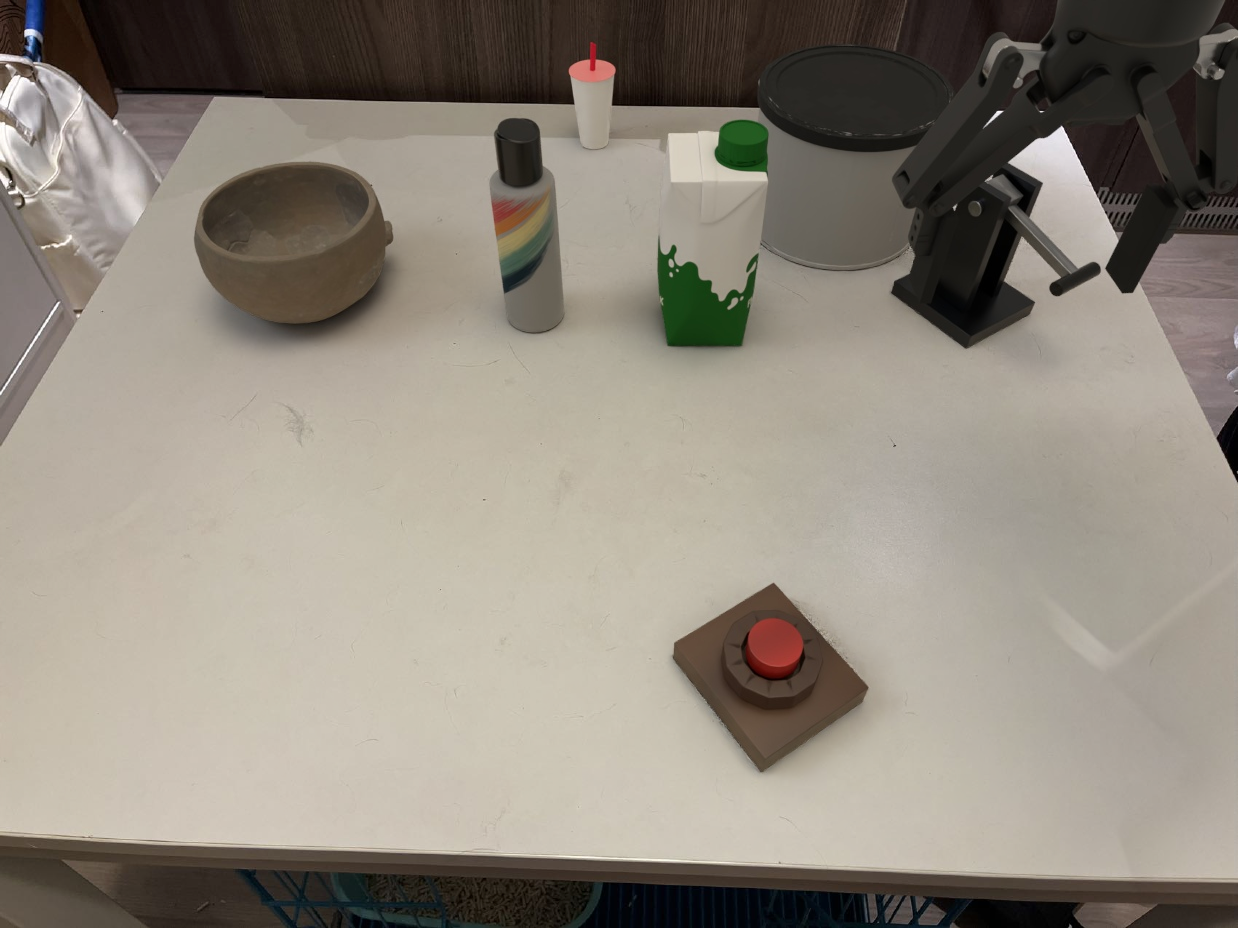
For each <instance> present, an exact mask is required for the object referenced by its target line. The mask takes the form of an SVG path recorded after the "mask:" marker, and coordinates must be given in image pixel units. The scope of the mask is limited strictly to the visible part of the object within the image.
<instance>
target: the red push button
mask: <svg viewBox="0 0 1238 928" xmlns="http://www.w3.org/2000/svg"><path fill="white" fill-rule="evenodd" d="M802 650H803V640H802V637H801V635H800V633H799V632H798V630H797V629H796V628H795V627H794V626H793V625H792V624H790V623H788V622H786V621H784V620H781V619H776V618H770V619H764V620H762V621H760V622H758V623H757V624H755V625H754V626H753V627H752V629H751V630H750V633H749V636H748V641H747V646H746V659H747V661H748V663H749V665H750V666H751V668H752V669H753V670H754V671H755V672H756V673H758V674H759V675H761V676H763V677H766V678H770V679H780V678H784V677H787V676H789V675H790V674H792V673H793V672H794V671H795V669H796V668H797V666H798V663H799V660H800V657H801V654H802Z"/></svg>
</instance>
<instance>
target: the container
mask: <svg viewBox="0 0 1238 928" xmlns="http://www.w3.org/2000/svg"><path fill="white" fill-rule="evenodd" d="M955 92H956V91H955V89H954V87H953V85H952V84H951V82H950V81H949V80H948V78H947V77H946V76H945V75H944V74H942V73H941V71H939V70H938V69H936V68H935V67H933V66H932V65H930V64H928V63H927V62H925V61H923V60H921V59H918V58H917V57H914V56H911V55H909V54H906V53H903V52H899V51H897V50H893V49H889V48H884V47H881V46H880V47H879V46H872V45H867V44H854V43H853V44H851V43H834V44H833V43H831V44H830V43H829V44H820V45H819V44H818V45H813V46H807V47H803V48H799V49H795V50H793V51H789V52H787V53H785V54H783V55H780V56H779V57H776V58H775V59H774V60H773V61H771V62H770V63H769V64H767V66H765V68H764V69H763V70H762V71H761V74H760V76H759V80H758V86H757V96H756V98H757V105H758V107H759V108H758V109H759V110H758V117H757V122H758V123H760V124H762V125H764V126H765V127H766V128H767V130H768V132H769V137H768V145H767V154H768V165H767V170H768V177H767V178H768V187H767V195H766V203H765V211H764V219H763V227H762V234H761V242H760V245H762V246H764V248H766V249H768V251H770V252H772V253H773V254H775V255H778V256H779V257H781V258H783V259H785V260H788V261H791V262H793V263H796V264H799V265H802V266H806V267H810V268H815V269H822V270H828V271H829V270H831V271H855V270H864V269H868V268H873V267H877V266H881V265H883V264H886V263H888V262H890V261H893V260H895V259H896V258H897V257H899V256H901V255H902V254H903V253H904V252H905V251H906V250H907V249H908V248H909V247H911V246H910V244H909V240H908V234H909V231H910V227H911V224H912V220H913V216H914V213H915V209H916V207H915V208H913V209H907V208H905V207H904V206H903V204H902V202H901V200H900V198H899V196H898V194H897V192H896V189H895V187H894V185H893V183H892V177H893V175H894V174H895V172H896V171H897V170H898V168H899V167H900V166H901V165H902V163H903V162H904V161H905V160H906V158H907V157H908V156H909V154H910V153H911V152H912V151H913V149H914V148H915V147H916V145H917V144H918V143H919V142H920V140H921V139H922V138H923V137H924V135H925V134H926V133H927V131H928V130H929V129H930V128H931V126H932V125H933V124H934V122H935V121H936V120H937V119H938V117H939V116H940V115H941V114H942V112H943V111H944V110H945V108H946V107H947V106H948V105H949V103H950V102H951V101H952V99H953V98H954V97H955V96H956V93H955Z"/></svg>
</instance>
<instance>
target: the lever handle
mask: <svg viewBox="0 0 1238 928" xmlns="http://www.w3.org/2000/svg"><path fill="white" fill-rule="evenodd" d="M985 182H987V183H988V184H990V185H992V186H993V187H995V188H997V189H998V190H1000V191H1002V192H1003V193H1005V194H1007V195H1008V196H1010V197H1011V198H1012V199H1011V202H1010V204H1009V207H1008V209H1007V212H1006V215H1005V217H1004V218H1005V219H1006V220H1007V221H1008V222H1009V223H1010V224H1011V225H1012V226H1013V227H1014V228H1015V230H1016V231H1017V232H1018V233H1019V234H1020V235H1021V236H1022V237H1021V238H1023V239H1024V241H1026V243H1028V245H1030V247H1031V248H1032V249H1033V250H1034V251H1035V252H1036V253H1037V254H1038V256H1040V257H1041V258H1042V259H1043V260H1044V261H1045V262H1046V264H1047V265H1049V267H1050V268H1051V269H1052V270H1053V271H1054V272H1055V273H1056V274H1057V275H1058V276H1059V277H1060V278H1058V279H1056V280H1054V281H1052V282H1051V283H1050V284H1049V287H1048V289H1049V292H1050V294H1051V295H1052V296H1054V297H1062V296H1063V295H1064V294H1066V293H1068V292H1070V291H1072V290H1074V289H1075V288H1077V287H1079V286H1081V285H1083V284H1086V283H1087V282H1089V281H1090V280H1093V279H1094V278H1096V277H1098V276H1099V275H1101V273H1102V268H1101V265H1100V264H1099V263H1098V262H1096V261H1090V262H1088V263H1086V264H1084V265H1082V266H1080V267H1077V266H1076V265H1075V264H1074V263H1073V261H1072V260H1071V259H1070V258H1069V257H1067V255H1066V254H1065V253H1064V252H1063V251H1062V250H1061V249H1060V248H1059V247H1058V246H1057V245H1056V244H1055V243H1054V242H1053V241H1052V240H1051V239H1050V238H1049V237H1048V236H1047V235H1046V234H1045V232H1043V230H1041V228H1040V227H1039V226H1038V225H1037V224H1036V223H1035V222H1034V221H1033V220H1032V219H1031V217H1028V216H1027V215H1026V214H1025V213H1024V212H1023V211H1022V210H1021V209H1020V208H1019V207H1018V206H1017V204H1018V202H1019V201H1020V200H1021V198H1022V197H1023V194H1022V193H1021V192H1020V191H1019V190H1018V189H1017V188H1016V187H1015V186H1014V185H1013V184H1012V183H1011V182H1010V181H1009V180H1008V179H1007V178H1006V177H1005V176H1004V175H1003V174H1002V175H999V176H997V177H995V178H993V179H992V178H990V179H987V180H986V181H985Z"/></svg>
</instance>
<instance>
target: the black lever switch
mask: <svg viewBox="0 0 1238 928" xmlns="http://www.w3.org/2000/svg"><path fill="white" fill-rule="evenodd" d="M1002 174H1003V175H1004V176H1005V177H1006V178H1007V179H1008V180H1009V181H1010V182H1011V183H1012V184H1013V185H1014V186H1015V187H1016V188H1017V189H1018V190H1019V191H1020V192H1021V193H1022V194H1023V197H1022V198H1021V200H1020V201H1019V202H1018V204H1017V206H1018V207H1019V208H1020V209H1021V210H1022V211H1023V212H1024V213H1025V214H1026V215H1027V216H1028V217H1029V218H1031V215H1032V212H1033V210H1034V207H1035V205H1036V202H1037V199H1038V197H1039V195H1040V192H1041V190H1042V187H1043V184H1044V182H1042V181H1041V180H1039V179H1037V178H1035V177H1034V176H1032V175H1031V174H1029V173H1027V172H1025V171H1023V170H1022V169H1020V168H1019V167H1017V166H1015V165H1013V164H1011V163H1010V162H1008V163H1007V164H1005V165H1004V166H1003V167H1002V168H1000V169H999V170H998V171H997V172H996V173H994V174H993V175H992V176H991V179H993V178H995V177H997V176H999V175H1002ZM1011 199H1012V198H1011V197H1010V196H1008V195H1007V194H1005V193H1003V192H1002V191H1000V190H998V189H997V188H995V187H993V186H992V185H990V184H988V183H987V182H986V181H985V182H983V183H982V184H981V185H980V186H978V187H977V188H976V189H975V190H974V191H972V192H971V193H970V194H969V195H967V196H966V197H965V198H964V199H963V200H961V201H960V202H959V203H958V204H956V205H955V209H954V210H955V212H956V214H957V216H958V218H959V219H958V222H957V225H956V228H955V231H954V234H953V237H952V240H951V243H950V246H949V249H948V253H947V256H946V259H945V262H944V265H943V268H942V271H941V274H940V277H939V280H938V283H937V286H936V289H935V292H934V295H933V298H932V301H931V303H923V304H920V303H919V301H918V299H917V297H916V294H915V292H914V290H913V287H912V285H911V283H910V281H909V274H910V273H908V274H906V275H903V276H901V277H900V278H898V279H896V280H894V281H893V284H892V287H891V295H893V296H895V297H896V298H898V299H899V300H900V301H902V302H903V303H904V304H906V306H908V307H910V309H912V310H914V311H915V312H916V313H918V314H919V315H921V316H922V317H923V318H925V319H926V320H927V321H929V322H930V324H933V325H934V326H935V327H937V328H938V329H939V330H941V331H942V332H943V333H944V334H946V335H947V336H949V337H950V338H951V339H953V340H954V341H955V342H957V343H959V344H960V345H961V346H962V347H964V348H965V349H968V348H970V347H972V346H973V345H976V344H978V343H980V342H981V341H983V340H985V339H987V338H988V337H990V336H992V335H994V334H996V333H998V332H1000V331H1001V330H1004V329H1006V328H1007V327H1009V326H1010V325H1012V324H1015V323H1016V322H1018V321H1020V320H1022V319H1024V318H1025V317H1027V316H1029V315H1031V313H1032V311H1033V308H1034V307H1035V304H1036V301H1034V300H1033V299H1032V298H1031V297H1029V296H1027V295H1025V294H1024V293H1022V292H1021V291H1020V290H1018V289H1016V288H1015V287H1013V286H1012V285H1011V284H1009V283H1007V282H1006V281H1005V279H1006V277H1007V274H1008V272H1009V270H1010V267H1011V265H1012V262H1013V260H1014V257H1015V254H1016V252H1017V250H1018V247H1019V244H1020V242H1021V240H1022V238H1023V237H1022V236H1021V235H1020V234H1019V233H1018V232H1017V231H1016V230H1015V228H1014V227H1013V226H1012V225H1011V224H1010V223H1009V222H1008V221H1007V220H1006V219H1005V218H1004V217H1005V215H1006V212H1007V209H1008V207H1009V204H1010V202H1011Z"/></svg>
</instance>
